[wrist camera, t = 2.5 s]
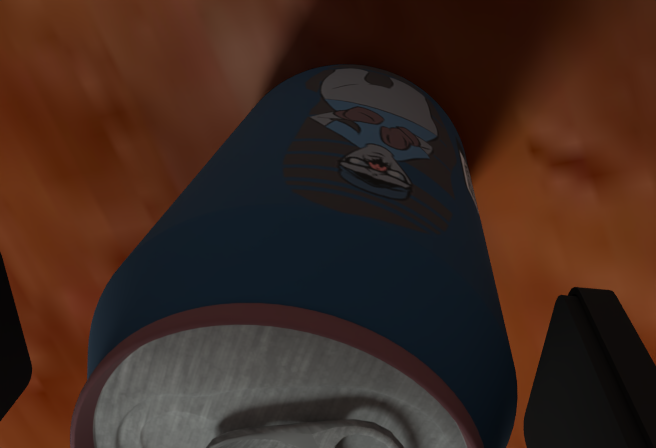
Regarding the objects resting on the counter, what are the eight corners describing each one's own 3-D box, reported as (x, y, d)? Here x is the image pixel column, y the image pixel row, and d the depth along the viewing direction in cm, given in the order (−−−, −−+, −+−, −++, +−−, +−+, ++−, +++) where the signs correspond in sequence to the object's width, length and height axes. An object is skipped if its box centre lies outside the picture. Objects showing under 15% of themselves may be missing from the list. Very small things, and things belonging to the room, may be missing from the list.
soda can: (281, 276, 21) (146, 647, 10) (213, 86, 18) (-76, 324, 7) (481, 241, 19) (569, 638, 8) (440, 26, 16) (496, 218, 6)
